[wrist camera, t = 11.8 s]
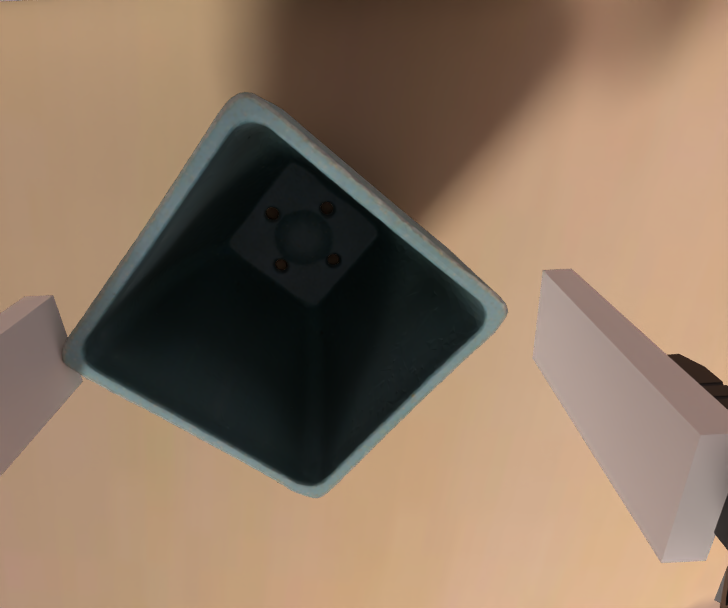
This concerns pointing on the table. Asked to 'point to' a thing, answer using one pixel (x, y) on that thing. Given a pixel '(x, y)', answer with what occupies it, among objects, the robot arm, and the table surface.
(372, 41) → the table surface
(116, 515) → the table surface
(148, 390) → the flower pot
